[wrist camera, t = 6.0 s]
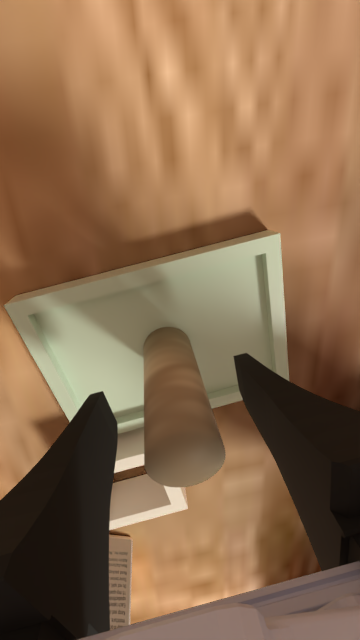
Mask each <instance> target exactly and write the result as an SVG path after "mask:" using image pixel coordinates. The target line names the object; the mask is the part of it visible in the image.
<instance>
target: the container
mask: <svg viewBox="0 0 360 640" xmlns="http://www.w3.org/2000/svg"><path fill="white" fill-rule="evenodd" d="M131 574H132V538H131V537H128V536H119V535H111V534H109V608H110V630H113V629H117V628H120V627H124V626H127V625H130V607H131Z"/></svg>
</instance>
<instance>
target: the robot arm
mask: <svg viewBox="0 0 360 640" xmlns="http://www.w3.org/2000/svg"><path fill="white" fill-rule="evenodd" d="M233 357H234V363H235V369H236V374H237V380H238V386H239V391H240V394H241V396H242V398H243V401H244V403H245V406H246V408H247V410H248V412H249V414H250V416H251V417H252V419H253V421H254V423H255V425H256V426H257V428H258V430H259V432H260V433H261V435H262V437H263V439H264V441H265V442H266V444H267V446H268V448H269V449H270V451H271V453H272V455H273V457H274V459H275V461H276V463H277V465H278V468H279V470H280V472H281V474H282V477H283V479H284V481H285V483H286V486H287V488H288V490H289V492H290V495H291V497H292V499H293V502H294V504H295V506H296V509H297V511H298V513H299V516H300V518H301V521H302V523H303V525H304V528H305V530H306V533H307V535H308V537H309V540H310V542H311V545H312V547H313V550H314V552H315V555H316V557H317V560H318V562H319V565H320V567H321V570H322V571H321V572H317V573H314V574H310V575H307V576H303V577H299V578H296V579H292V580H289V581H285V582H281V583H278V584H274V585H271V586H267V587H264V588H260V589H256V590H253V591H249V592H246V593H242V594H238V595H235V596H231V597H228V598H224V599H221V600H217V601H213V602H210V603H206V604H203V605H199V606H196V607H192V608H188V609H185V610H181V611H178V612H174V613H170V614H167V615H163V616H160V617H156V618H153V619H149V620H145V621H142V622H138V623H135V624H131V625H127V626H124V627H120V628H117V629H113V630H110V608H109V524H110V502H111V492H112V485H113V477H114V469H115V462H116V453H117V445H118V424H117V421H116V419H115V416H114V414H113V412H112V410H111V408H110V406H109V403H108V401H107V399H106V397H105V395H104V392H103V391H101V392H97V393H93V394H90V395H89V396H88V398H87V399H86V400H85V402H84V403H83V405H82V406H81V407H80V409H79V410H78V412H77V413H76V415H75V416H74V417H73V419H72V420H71V421H70V423H69V424H68V426H67V427H66V428H65V430H64V431H63V432H62V434H61V435H60V436H59V438H58V439H57V440H56V441H55V443H54V444H53V445H52V446H51V448H50V449H49V450H48V451H47V453H46V454H45V455H44V456H43V457H42V458H41V460H40V461H39V462H38V463H37V464H36V465H35V466H34V467H33V468H32V470H31V471H30V472H29V473H28V474H27V475H26V476H25V477H24V478H23V479H22V480H21V481H20V482H19V483H18V484H17V485H16V486H15V487H14V488H13V489H12V490H11V491H10V492H9V493H8V494H7V495H6V496H5V497H4V498H2V499H1V500H0V640H360V411H357V410H354V409H351V408H348V407H345V406H342V405H340V404H337V403H335V402H332V401H329V400H327V399H324V398H322V397H320V396H317V395H315V394H313V393H311V392H309V391H307V390H304V389H302V388H300V387H299V386H297V385H295V384H293V383H291V382H290V381H288V380H286V379H285V378H283V377H281V376H280V375H278V374H277V373H275V372H273V371H272V370H270V369H269V368H267V367H266V366H264V365H263V364H262V363H260V362H259V361H257V360H256V359H255V358H253V357H252V356H250V355H249V354H248V353H243V354H240V355H236V356H233Z"/></svg>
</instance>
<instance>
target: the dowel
mask: <svg viewBox="0 0 360 640" xmlns="http://www.w3.org/2000/svg"><path fill="white" fill-rule="evenodd" d="M143 359H144V466H145V470H146V473H147V474H148V476H149V477H150V478H151V479H152V480H154V481H155V482H157V483H159V484H161V485H164V486H168V487H188V486H193V485H197V484H199V483H202V482H204V481H206V480H208V479H209V478H211V477H212V476H213V475H215V474H216V473H217V472H218V471H219V470H220V468H221V467H222V465H223V463H224V460H225V448H224V445H223V442H222V439H221V436H220V433H219V430H218V427H217V423H216V420H215V417H214V414H213V411H212V408H211V405H210V402H209V399H208V396H207V392H206V389H205V386H204V383H203V380H202V377H201V374H200V371H199V368H198V365H197V361H196V358H195V355H194V352H193V349H192V346H191V343H190V340H189V338H188V336H187V335H186V334H185V333H184V332H183V331H182V330H180V329H178V328H174V327H162V328H159V329H156V330H155V331H153V332H152V333H151V334H149V336H148V337H147V338H146V340H145V342H144V347H143Z"/></svg>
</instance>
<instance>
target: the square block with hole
mask: <svg viewBox="0 0 360 640" xmlns="http://www.w3.org/2000/svg"><path fill="white" fill-rule="evenodd" d="M142 465H144V427H142V428H138V429H134V430H131V431H127V432H123V433H119V434H118V445H117V453H116V462H115V469H114V473H116V472H120V471H124V470H127V469H131V468H135V467H139V466H142ZM185 509H188V505H187V498H186V491H185V487H168V486H164V485H161V484H159V483H157V482H155V481H154V480H152V479H151V478H150V477H149V476H148V474H145V475H141V476H137V477H133V478H130V479H126V480H122V481H119V482H115V483H113V485H112V492H111V502H110V524H109V530H112V529H115V528H119V527H123V526H126V525H130V524H134V523H137V522H141V521H145V520H148V519H152V518H156V517H159V516H163V515H167V514H170V513H174V512H178V511H181V510H185Z"/></svg>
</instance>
